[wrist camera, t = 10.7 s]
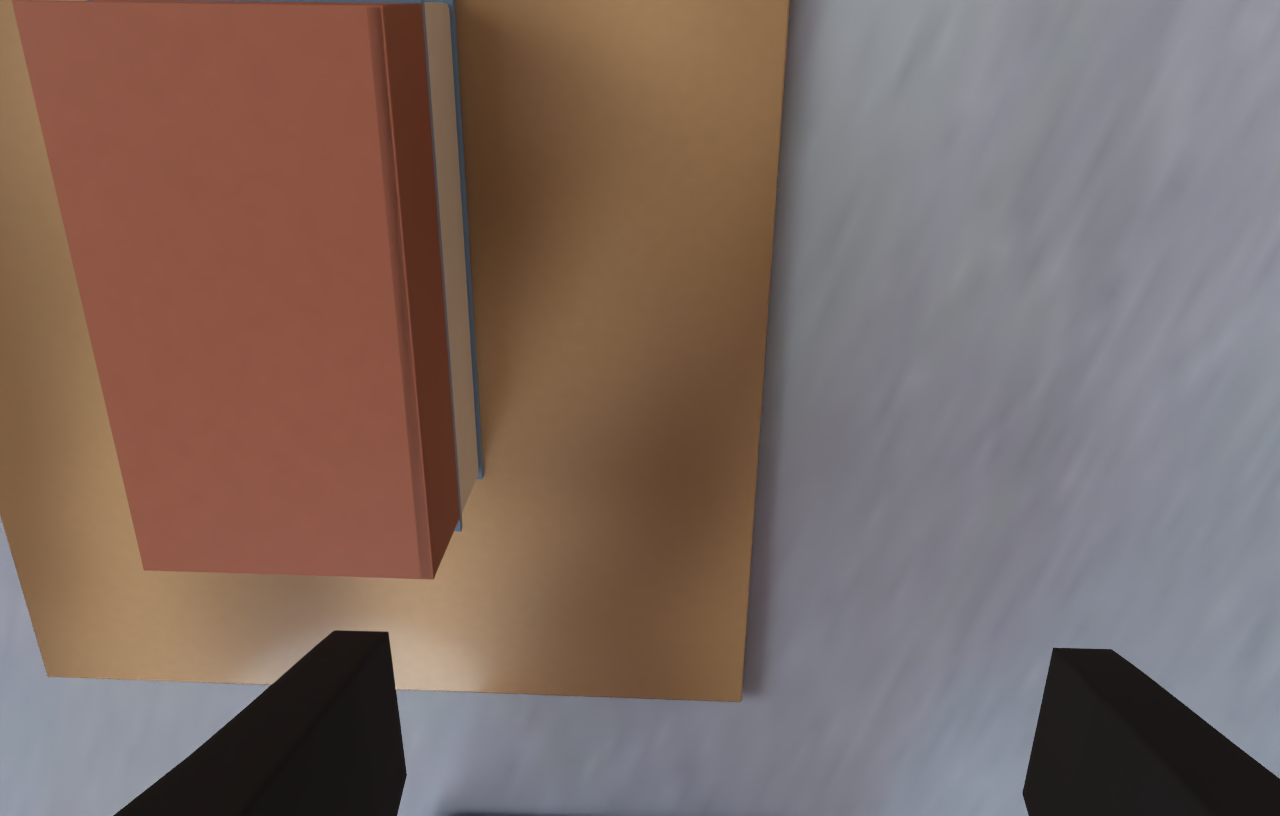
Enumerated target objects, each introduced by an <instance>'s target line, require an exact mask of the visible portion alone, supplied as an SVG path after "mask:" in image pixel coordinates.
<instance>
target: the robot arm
mask: <svg viewBox="0 0 1280 816" xmlns="http://www.w3.org/2000/svg"><path fill="white" fill-rule="evenodd" d="M406 775H407V774H406V766H405V758H404V750H403V742H402V735H401V727H400V719H399V711H398V703H397V695H396V687H395V679H394V671H393V663H392V655H391V648H390V640H389V632H383V631H343V630H334V631H333V632H331V633H330V634H329V635H328V636H327V637H325V638H324V639H323V640H322V641H321V642H320V643H318V644H317V645H316V646H315V647H314V648H313V649H311V650H310V651H309V652H308V653H307V654H306V655H305V656H304V657H302V658H301V659H300V660H299V661H298V662H297V663H296V664H295V665H293V666H292V667H291V668H290V669H289V670H288V671H287V672H286V673H284V674H283V675H282V676H281V677H280V678H279V679H278V680H276V681H275V682H274V683H273V684H272V685H271V686H270V687H269V688H267V689H266V690H265V691H264V692H263V693H262V694H261V695H260V696H258V697H257V698H256V699H255V700H254V701H253V702H252V703H250V704H249V705H248V706H247V707H246V708H245V709H244V710H242V711H241V712H240V713H239V714H238V715H237V716H235V717H234V718H233V719H232V720H231V721H230V722H228V723H227V724H226V725H225V726H224V727H223V728H221V729H220V730H219V731H218V732H217V733H216V734H214V735H213V736H212V737H211V738H210V739H209V740H207V741H206V742H205V743H204V744H203V745H202V746H200V747H199V748H198V749H197V750H196V751H195V752H193V753H192V754H191V755H190V756H189V757H187V758H186V759H185V760H183V761H182V762H181V763H180V764H178V765H177V766H176V767H175V768H173V769H172V770H171V771H170V772H168V773H167V774H166V775H164V776H163V777H162V778H161V779H159V780H158V781H157V782H156V783H154V784H153V785H152V786H150V787H149V788H148V789H147V790H145V791H144V792H143V793H142V794H140V795H139V796H138V797H136V798H135V799H134V800H133V801H131V802H130V803H129V804H128V805H126V806H125V807H124V808H123V809H121V810H120V811H119V812H117V813H116V814H115V815H114V816H397V813H398V809H399V805H400V800H401V796H402V792H403V788H404V784H405V780H406ZM1023 797H1024V800H1025V804H1026V807H1027V811H1028V814H1029V816H1280V779H1279V778H1278V777H1277V776H1275V775H1274V774H1273V773H1271V772H1270V771H1269V770H1267V769H1266V768H1265V767H1263V766H1262V765H1261V764H1260V763H1258V762H1257V761H1256V760H1254V759H1253V758H1252V757H1250V756H1249V755H1248V754H1247V753H1245V752H1244V751H1243V750H1241V749H1240V748H1239V747H1238V746H1236V745H1235V744H1234V743H1232V742H1231V741H1230V740H1229V739H1227V738H1226V737H1225V736H1223V735H1222V734H1221V733H1220V732H1218V731H1217V730H1216V729H1215V728H1213V727H1212V726H1211V725H1209V724H1208V723H1207V722H1206V721H1204V720H1203V719H1202V718H1201V717H1199V716H1198V715H1197V714H1195V713H1194V712H1193V711H1192V710H1190V709H1189V708H1188V707H1187V706H1185V705H1184V704H1183V703H1182V702H1180V701H1179V700H1178V699H1176V698H1175V697H1174V696H1173V695H1171V694H1170V693H1169V692H1168V691H1166V690H1165V689H1164V688H1162V687H1161V686H1160V685H1159V684H1157V683H1156V682H1155V681H1153V680H1152V679H1151V678H1150V677H1148V676H1147V675H1146V674H1144V673H1143V672H1142V671H1140V670H1139V669H1138V668H1136V667H1135V666H1134V665H1132V664H1131V663H1130V662H1128V661H1127V660H1126V659H1124V658H1123V657H1121V656H1120V655H1119V654H1117V653H1116V652H1114V651H1113V650H1111V649H1076V648H1053V652H1052V656H1051V661H1050V666H1049V671H1048V675H1047V680H1046V685H1045V690H1044V694H1043V699H1042V704H1041V708H1040V713H1039V718H1038V723H1037V727H1036V732H1035V737H1034V742H1033V746H1032V751H1031V756H1030V761H1029V765H1028V770H1027V775H1026V780H1025V784H1024V789H1023Z"/></svg>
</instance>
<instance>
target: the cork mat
mask: <svg viewBox="0 0 1280 816" xmlns="http://www.w3.org/2000/svg"><path fill="white" fill-rule="evenodd" d="M51 1H86V0H51ZM789 9H790V0H455V13H456V30H457V46H458V63H459V79H460V95H461V112H462V128H463V144H464V161H465V177H466V193H467V210H468V226H469V242H470V259H471V275H472V291H473V308H474V324H475V340H476V357H477V373H478V389H479V406H480V422H481V438H482V455H483V471H484V477H483V479H482V480H481V479H476V481H475V484H474V486H473V488H472V491H471V493H470V495H469V498H468V500H467V503H466V505H465V507H464V510H463V512H462V525H463V528H462V531H461V532H453V535H452V537H451V539H450V542H449V544H448V546H447V549H446V551H445V554H444V556H443V558H442V561H441V563H440V565H439V568H438V570H437V573H436V576H435V578H434V580H426V579H394V578H363V577H331V576H300V575H269V574H237V573H206V572H174V571H144V569H143V565H142V560H141V556H140V552H139V548H138V543H137V539H136V535H135V530H134V526H133V522H132V517H131V513H130V509H129V504H128V500H127V496H126V492H125V487H124V483H123V479H122V474H121V470H120V466H119V461H118V457H117V453H116V448H115V444H114V440H113V436H112V431H111V427H110V423H109V418H108V414H107V410H106V405H105V401H104V397H103V392H102V388H101V384H100V380H99V375H98V371H97V367H96V362H95V358H94V354H93V349H92V345H91V341H90V336H89V332H88V328H87V324H86V319H85V315H84V311H83V306H82V302H81V298H80V293H79V289H78V285H77V281H76V276H75V272H74V268H73V263H72V259H71V255H70V250H69V246H68V242H67V237H66V233H65V229H64V225H63V220H62V216H61V212H60V207H59V203H58V199H57V194H56V190H55V186H54V181H53V177H52V173H51V169H50V164H49V160H48V156H47V151H46V147H45V143H44V138H43V134H42V130H41V125H40V121H39V117H38V113H37V108H36V104H35V100H34V95H33V91H32V87H31V82H30V78H29V74H28V69H27V65H26V61H25V57H24V52H23V48H22V44H21V39H20V35H19V31H18V26H17V22H16V18H15V13H14V9H13V5H12V0H0V516H1V519H2V523H3V526H4V530H5V533H6V536H7V540H8V543H9V547H10V550H11V553H12V557H13V560H14V564H15V567H16V570H17V574H18V577H19V581H20V584H21V587H22V591H23V594H24V598H25V601H26V604H27V608H28V611H29V615H30V618H31V621H32V625H33V628H34V632H35V635H36V638H37V642H38V645H39V649H40V652H41V655H42V659H43V662H44V666H45V669H46V672H47V676H48V677H67V678H95V679H122V680H150V681H177V682H204V683H232V684H259V685H272V684H273V683H274V682H275V681H276V680H278V679H279V678H280V677H281V676H282V675H283V674H284V673H286V672H287V671H288V670H289V669H290V668H291V667H292V666H293V665H295V664H296V663H297V662H298V661H299V660H300V659H301V658H302V657H304V656H305V655H306V654H307V653H308V652H309V651H310V650H311V649H313V648H314V647H315V646H316V645H317V644H318V643H320V642H321V641H322V640H323V639H324V638H325V637H327V636H328V635H329V634H330V633H331V632H333V631H334V630H343V631H383V632H389V640H390V648H391V655H392V663H393V671H394V679H395V687H396V689H397V690H424V691H452V692H479V693H507V694H534V695H562V696H589V697H617V698H644V699H672V700H699V701H727V702H741V700H742V688H743V673H744V659H745V644H746V630H747V615H748V601H749V587H750V572H751V558H752V543H753V529H754V514H755V500H756V485H757V471H758V457H759V442H760V428H761V413H762V399H763V384H764V370H765V355H766V341H767V326H768V312H769V298H770V283H771V269H772V254H773V240H774V225H775V211H776V196H777V182H778V168H779V153H780V139H781V124H782V110H783V95H784V81H785V66H786V52H787V38H788V23H789Z"/></svg>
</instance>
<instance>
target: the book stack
mask: <svg viewBox="0 0 1280 816" xmlns="http://www.w3.org/2000/svg"><path fill="white" fill-rule="evenodd" d="M12 5H13V9H14V13H15V18H16V22H17V26H18V31H19V35H20V39H21V44H22V48H23V52H24V57H25V61H26V65H27V69H28V74H29V78H30V82H31V87H32V91H33V95H34V100H35V104H36V108H37V113H38V117H39V121H40V125H41V130H42V134H43V138H44V143H45V147H46V151H47V156H48V160H49V164H50V169H51V173H52V177H53V181H54V186H55V190H56V194H57V199H58V203H59V207H60V212H61V216H62V220H63V225H64V229H65V233H66V237H67V242H68V246H69V250H70V255H71V259H72V263H73V268H74V272H75V276H76V281H77V285H78V289H79V293H80V298H81V302H82V306H83V311H84V315H85V319H86V324H87V328H88V332H89V336H90V341H91V345H92V349H93V354H94V358H95V362H96V367H97V371H98V375H99V380H100V384H101V388H102V392H103V397H104V401H105V405H106V410H107V414H108V418H109V423H110V427H111V431H112V436H113V440H114V444H115V448H116V453H117V457H118V461H119V466H120V470H121V474H122V479H123V483H124V487H125V492H126V496H127V500H128V504H129V509H130V513H131V517H132V522H133V526H134V530H135V535H136V539H137V543H138V548H139V552H140V556H141V560H142V565H143V569H144V571H174V572H206V573H237V574H269V575H300V576H331V577H363V578H394V579H426V580H434V578H435V576H436V573H437V570H438V568H439V565H440V563H441V561H442V558H443V556H444V554H445V551H446V549H447V546H448V544H449V542H450V539H451V537H452V535H453V532H461V531H462V528H463V525H462V512H463V510H464V507H465V505H466V503H467V500H468V498H469V495H470V493H471V491H472V488H473V486H474V484H475V481H476V479H481V480H482V479H483V477H484V471H483V455H482V438H481V422H480V406H479V389H478V373H477V357H476V340H475V324H474V308H473V291H472V275H471V259H470V242H469V226H468V210H467V193H466V177H465V161H464V144H463V128H462V112H461V95H460V79H459V63H458V46H457V30H456V13H455V0H86V1H51V0H12Z"/></svg>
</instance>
